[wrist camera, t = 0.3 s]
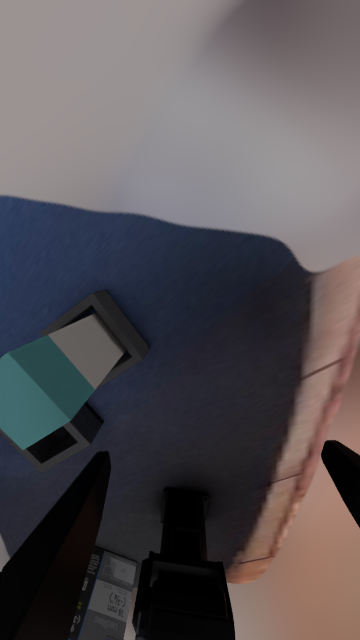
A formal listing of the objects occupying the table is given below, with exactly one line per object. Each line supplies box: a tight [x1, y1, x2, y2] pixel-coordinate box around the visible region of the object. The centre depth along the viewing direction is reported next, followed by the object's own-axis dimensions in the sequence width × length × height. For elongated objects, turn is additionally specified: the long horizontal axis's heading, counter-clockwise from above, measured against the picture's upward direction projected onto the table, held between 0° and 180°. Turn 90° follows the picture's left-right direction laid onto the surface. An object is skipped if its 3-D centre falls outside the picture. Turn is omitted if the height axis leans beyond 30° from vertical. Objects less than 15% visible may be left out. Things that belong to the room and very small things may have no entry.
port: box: [0, 402, 104, 473], centre depth 24 cm, size 9×8×4 cm
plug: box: [0, 312, 127, 450], centre depth 17 cm, size 5×4×12 cm
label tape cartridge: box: [68, 547, 137, 640], centre depth 26 cm, size 9×4×12 cm, turn 65°
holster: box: [40, 290, 149, 390], centre depth 21 cm, size 8×7×3 cm
